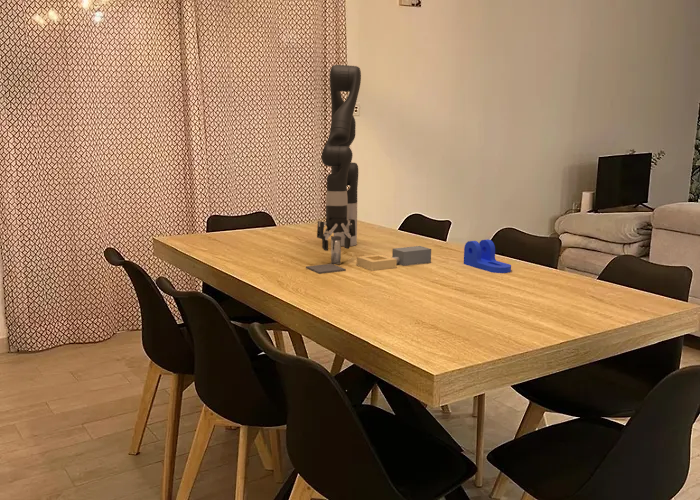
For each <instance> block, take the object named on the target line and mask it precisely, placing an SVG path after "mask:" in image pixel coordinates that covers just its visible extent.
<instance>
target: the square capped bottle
mask: <svg viewBox="0 0 700 500" xmlns="http://www.w3.org/2000/svg"><path fill="white" fill-rule="evenodd" d="M330 236H331V237H330V248H331V249H330V253H331V255H330V259H331V260H330V264H334V265H335V264H337V265H341V264H342V263H341V260H342V258H341V257H342V253H341V252H342V250H341V249H342V246H341V237H340V236H334V235H330Z"/></svg>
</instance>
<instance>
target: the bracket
mask: <svg viewBox="0 0 700 500" xmlns="http://www.w3.org/2000/svg"><path fill="white" fill-rule="evenodd" d="M463 265H465V266H469V267H472V268H475V269H478V270H483V271H486V272H489V273H494V274H495V273H496V274H506V273H507V274H509V273H511V272H512V265H511V264H509V263H506V262H502V261H499V260H497V259H496V245H495V243H494V242H493V240H491V239H489V238H488V239H482V240H480V241H479V242H478V241H477V240H468V241H467V242H466V243H465V245H464V248H463Z"/></svg>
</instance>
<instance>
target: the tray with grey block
mask: <svg viewBox="0 0 700 500" xmlns="http://www.w3.org/2000/svg"><path fill="white" fill-rule="evenodd" d="M391 256H392V257H390V256H387V255H385V254H371V255H363V256H361V255H360V256H356V266H358V267H359V268H364V269H366V270H369V271H382V270H390V269H396V268H397V265H400V266H402V267H404V266H414V265H423V264H431V263H432V248H429V247H425V246H421V245H416V246H414V245H413V246H405V247H396V248H392V255H391Z"/></svg>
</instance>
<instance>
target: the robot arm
mask: <svg viewBox="0 0 700 500" xmlns="http://www.w3.org/2000/svg"><path fill="white" fill-rule="evenodd" d="M361 81H362V73H361V68H360V67H359V66H357V65H345V64H334V65H332V66H331V68H330V70H329V89H330V102H331V123H330V130H329V134H328V138H327V141H326V143H325V145H324V147H323V149H322V151H321V162H322V164H323V165H324V166H326V167H331V168H330V173H329V174H328V175H327V177H326V193H325V194H326V196H325V218H326V219H325V221H321V220H319V221H317V229H316V230H317V231H316V238H317V239H321V242H322V243H321V248H322V249H323V251H325V252H328V251H329V240H328V239H329V238H330V236H340V237H341V247H344V249H346V250H348V249H350V247H352V246H356V245H358V244H357V243H358V185H359V184H358V183H359V166H358V163H356V162H352V161H353V150H352V149H351V148H350V146H351V145H352V143H353V141H354V140H355V138H356V124H357V123H356V119H355V117H354V111H355V108H356V105H357V100H358V96H359V92H360V87H361ZM341 92H345V93H346V92H347V93H348V95H347V97H346V99H345V100H344V99H343V97H342V93H341ZM348 186H349V188H348ZM325 227H326V228H325ZM324 229H325V230H324Z"/></svg>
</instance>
